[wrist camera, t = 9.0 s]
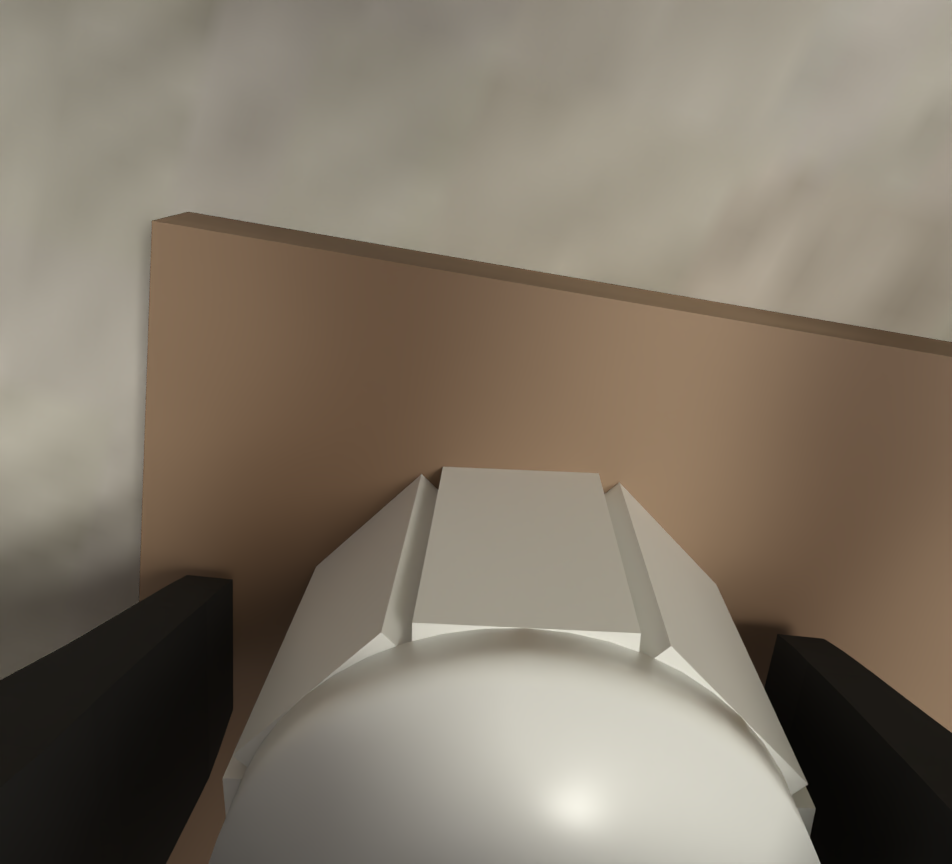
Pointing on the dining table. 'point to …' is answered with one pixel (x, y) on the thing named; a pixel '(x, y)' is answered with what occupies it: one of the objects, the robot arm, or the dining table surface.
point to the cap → (513, 696)
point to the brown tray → (535, 438)
